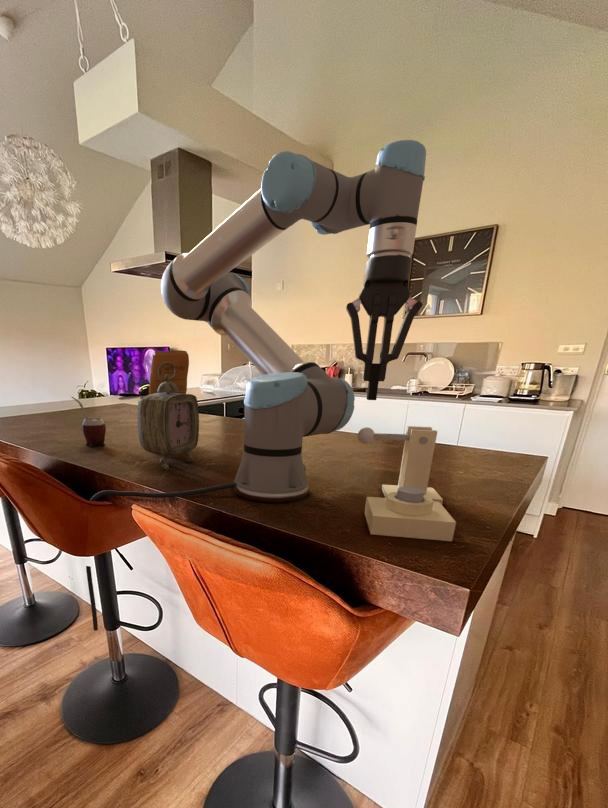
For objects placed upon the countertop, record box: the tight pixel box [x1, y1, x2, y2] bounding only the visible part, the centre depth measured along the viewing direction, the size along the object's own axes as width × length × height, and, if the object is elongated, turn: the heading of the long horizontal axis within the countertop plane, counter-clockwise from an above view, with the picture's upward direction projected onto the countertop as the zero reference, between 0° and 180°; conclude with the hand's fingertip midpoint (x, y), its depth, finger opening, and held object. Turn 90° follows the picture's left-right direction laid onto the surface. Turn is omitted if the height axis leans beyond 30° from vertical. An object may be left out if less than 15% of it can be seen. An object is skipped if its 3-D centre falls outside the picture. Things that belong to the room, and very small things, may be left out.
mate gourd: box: [71, 396, 107, 448], centre depth 129 cm, size 8×8×15 cm
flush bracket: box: [381, 425, 444, 506], centre depth 83 cm, size 10×8×14 cm
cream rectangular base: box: [364, 492, 457, 542], centre depth 69 cm, size 12×10×5 cm
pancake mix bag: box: [148, 349, 190, 395], centre depth 125 cm, size 7×19×28 cm, turn 148°
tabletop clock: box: [136, 362, 200, 471], centre depth 104 cm, size 14×9×25 cm, turn 150°
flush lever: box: [357, 426, 410, 445], centre depth 82 cm, size 13×3×3 cm, turn 78°
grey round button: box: [396, 487, 424, 503], centre depth 68 cm, size 4×4×2 cm
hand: (371, 399), depth 80 cm, fingers closed
